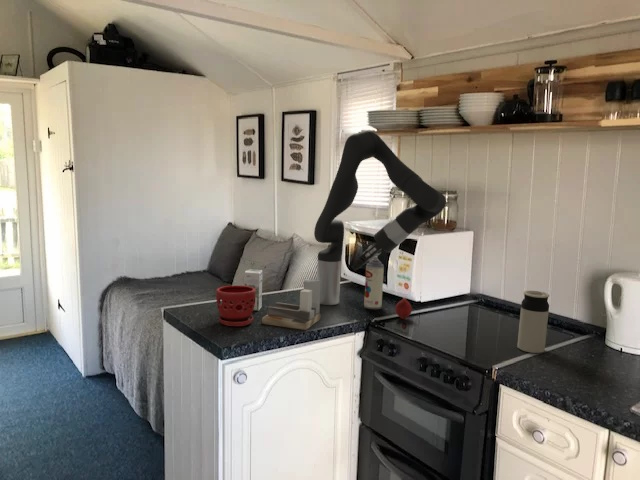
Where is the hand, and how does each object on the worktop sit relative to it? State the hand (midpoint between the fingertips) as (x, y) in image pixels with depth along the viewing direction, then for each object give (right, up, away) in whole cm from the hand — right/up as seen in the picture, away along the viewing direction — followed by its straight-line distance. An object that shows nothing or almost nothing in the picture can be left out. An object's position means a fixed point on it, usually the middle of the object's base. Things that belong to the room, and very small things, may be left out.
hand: (353, 268), depth 178 cm
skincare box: (-14, -18, +22) cm, 32 cm away
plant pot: (-40, -19, +6) cm, 44 cm away
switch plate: (-21, -19, +10) cm, 30 cm away
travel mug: (+55, -25, -9) cm, 61 cm away
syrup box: (-36, -16, +24) cm, 46 cm away
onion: (+19, -20, +18) cm, 33 cm away
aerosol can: (+10, -17, +33) cm, 38 cm away
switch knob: (-16, -17, +8) cm, 25 cm away
